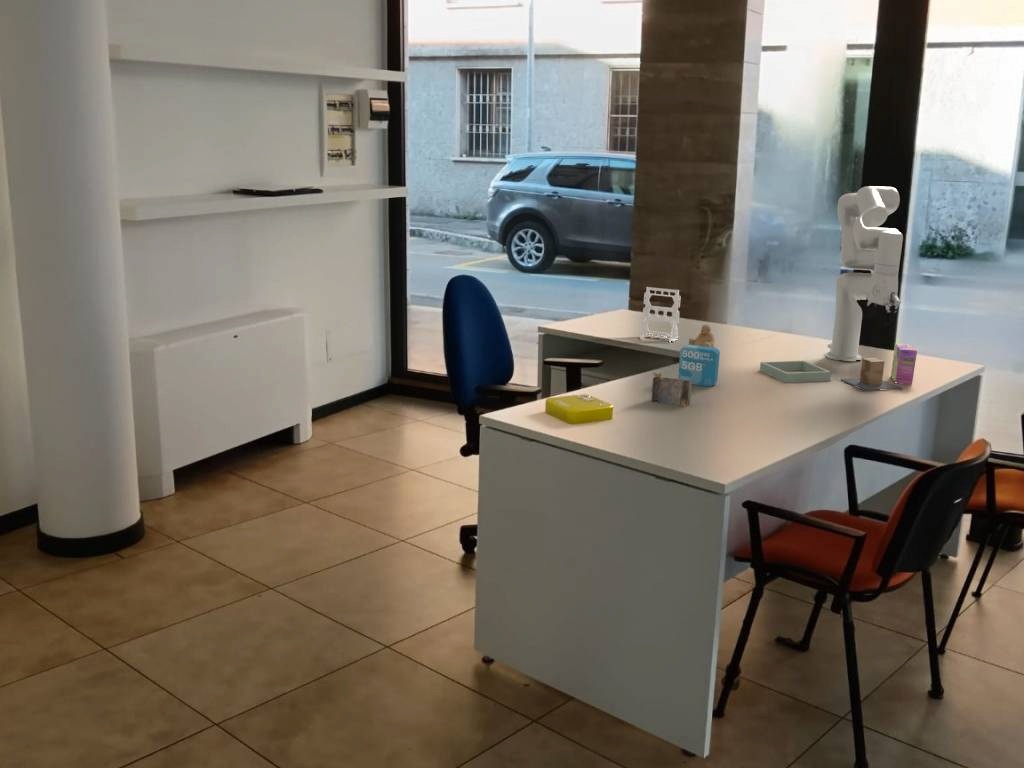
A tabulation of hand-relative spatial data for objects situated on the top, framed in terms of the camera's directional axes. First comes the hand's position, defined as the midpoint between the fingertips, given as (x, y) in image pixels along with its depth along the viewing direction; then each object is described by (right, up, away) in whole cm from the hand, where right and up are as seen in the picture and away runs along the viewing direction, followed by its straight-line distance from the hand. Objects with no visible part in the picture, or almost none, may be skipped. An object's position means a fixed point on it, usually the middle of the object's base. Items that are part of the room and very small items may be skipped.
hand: (879, 321), depth 347 cm
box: (+11, -20, +11) cm, 25 cm away
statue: (-53, -12, +32) cm, 64 cm away
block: (-2, -21, +3) cm, 21 cm away
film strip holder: (-63, -3, +65) cm, 91 cm away
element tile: (-102, -30, -46) cm, 116 cm away
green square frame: (-25, -18, +12) cm, 33 cm away
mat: (-2, -21, +3) cm, 21 cm away
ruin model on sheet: (-73, -27, -29) cm, 83 cm away
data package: (-61, -21, -4) cm, 64 cm away
